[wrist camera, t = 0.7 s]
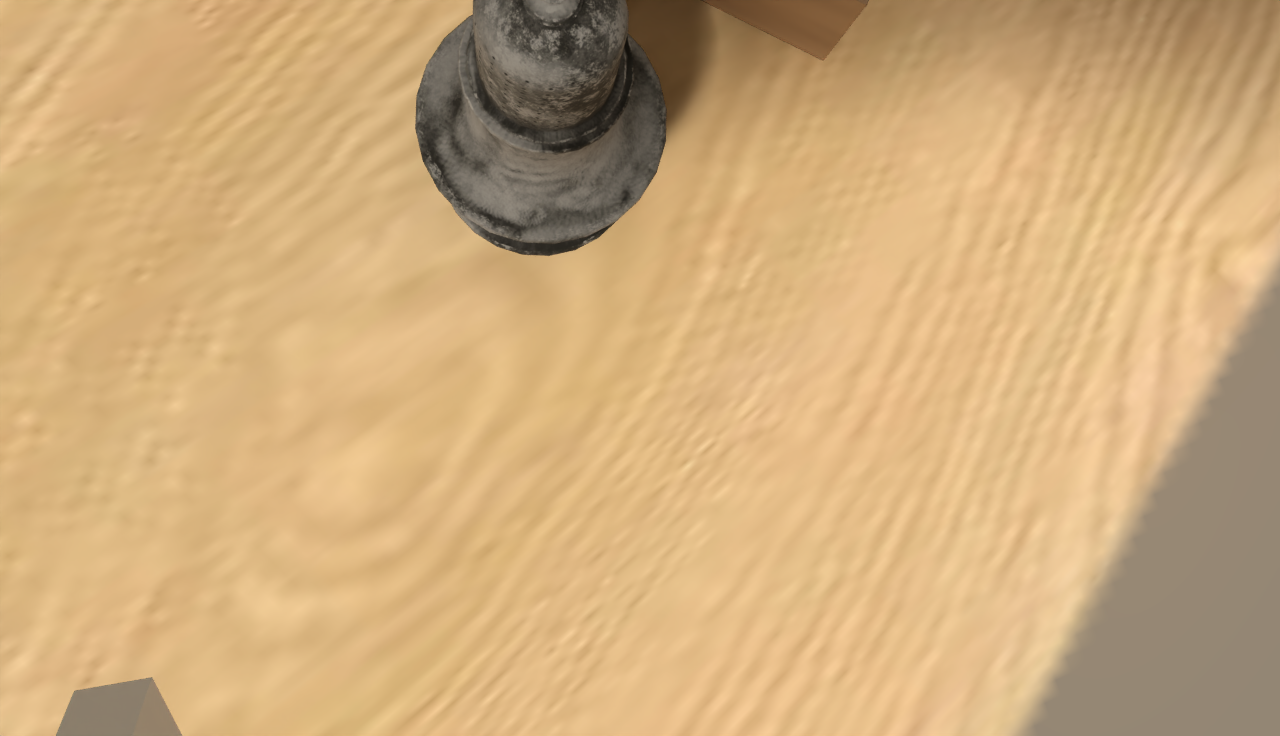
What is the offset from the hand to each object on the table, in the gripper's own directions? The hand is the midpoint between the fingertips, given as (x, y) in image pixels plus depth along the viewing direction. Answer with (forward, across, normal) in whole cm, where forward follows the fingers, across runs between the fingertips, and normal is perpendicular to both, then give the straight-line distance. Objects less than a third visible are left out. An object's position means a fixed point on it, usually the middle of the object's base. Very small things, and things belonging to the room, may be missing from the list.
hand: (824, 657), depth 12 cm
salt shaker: (+21, -3, -3) cm, 22 cm away
